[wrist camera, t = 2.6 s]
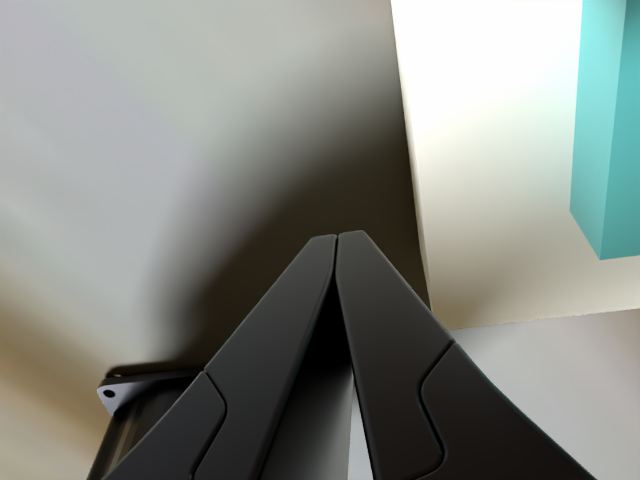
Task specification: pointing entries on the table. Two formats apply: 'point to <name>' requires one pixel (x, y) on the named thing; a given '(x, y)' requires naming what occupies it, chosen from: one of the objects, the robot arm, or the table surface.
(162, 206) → the table surface
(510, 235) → the white flat block
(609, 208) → the turquoise slab
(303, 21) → the table surface
